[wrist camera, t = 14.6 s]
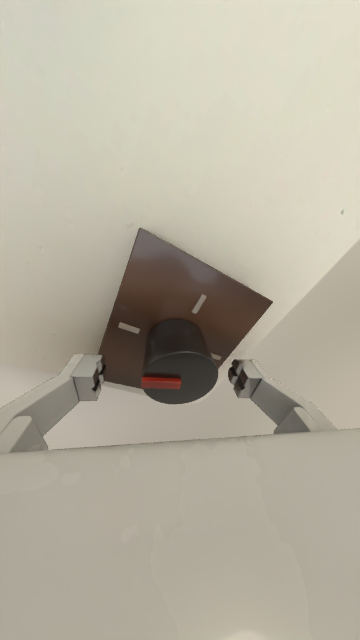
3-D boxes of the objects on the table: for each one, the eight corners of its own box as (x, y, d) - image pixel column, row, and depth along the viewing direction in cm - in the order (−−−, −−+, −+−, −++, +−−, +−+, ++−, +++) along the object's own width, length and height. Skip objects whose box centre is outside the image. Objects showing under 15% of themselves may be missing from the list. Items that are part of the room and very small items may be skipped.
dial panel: (188, 376, 18) (193, 401, 15) (102, 353, 15) (89, 379, 12) (251, 289, 13) (275, 302, 11) (144, 229, 10) (139, 226, 7)
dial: (210, 322, 11) (231, 359, 8) (195, 365, 13) (207, 409, 10) (149, 314, 10) (143, 352, 7) (144, 362, 12) (137, 409, 9)
